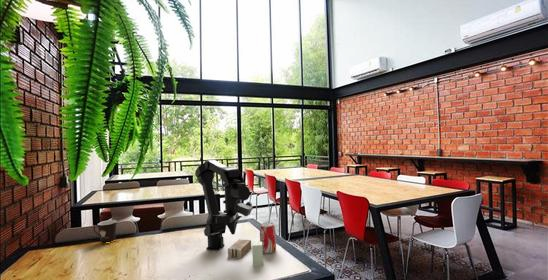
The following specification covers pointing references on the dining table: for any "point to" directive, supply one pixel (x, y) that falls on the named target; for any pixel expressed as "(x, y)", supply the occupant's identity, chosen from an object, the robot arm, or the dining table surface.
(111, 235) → the coffee mug
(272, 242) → the soda can
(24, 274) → the dining table surface
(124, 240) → the dining table surface
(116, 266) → the dining table surface
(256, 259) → the sage block
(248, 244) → the walnut block
